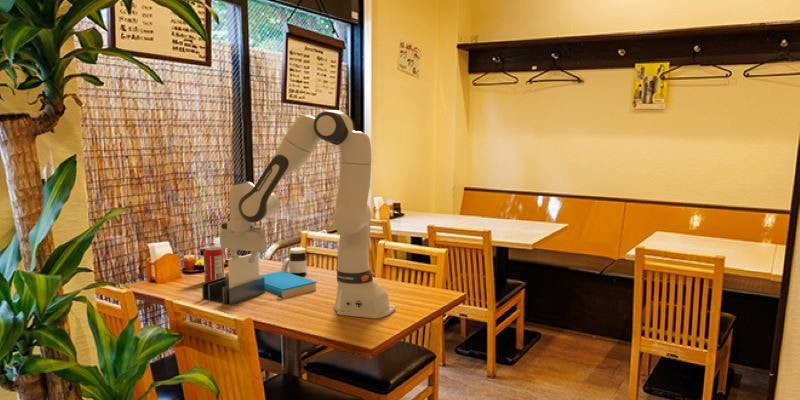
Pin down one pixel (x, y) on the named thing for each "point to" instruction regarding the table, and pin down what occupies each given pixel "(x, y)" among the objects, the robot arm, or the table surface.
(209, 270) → the soda can
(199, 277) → the table surface
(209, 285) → the rack
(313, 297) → the table surface
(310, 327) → the table surface
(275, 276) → the book
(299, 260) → the striped mug
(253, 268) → the tall sheet
